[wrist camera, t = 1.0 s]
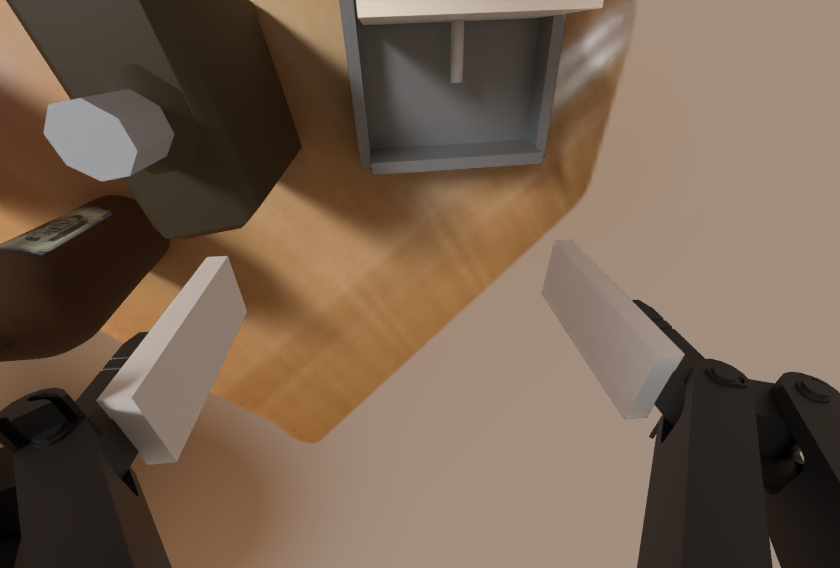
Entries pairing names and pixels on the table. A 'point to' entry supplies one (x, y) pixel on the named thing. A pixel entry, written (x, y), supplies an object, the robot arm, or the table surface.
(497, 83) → the grey tray
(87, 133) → the bottle
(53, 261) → the olive oil
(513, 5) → the plate
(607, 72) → the table surface
